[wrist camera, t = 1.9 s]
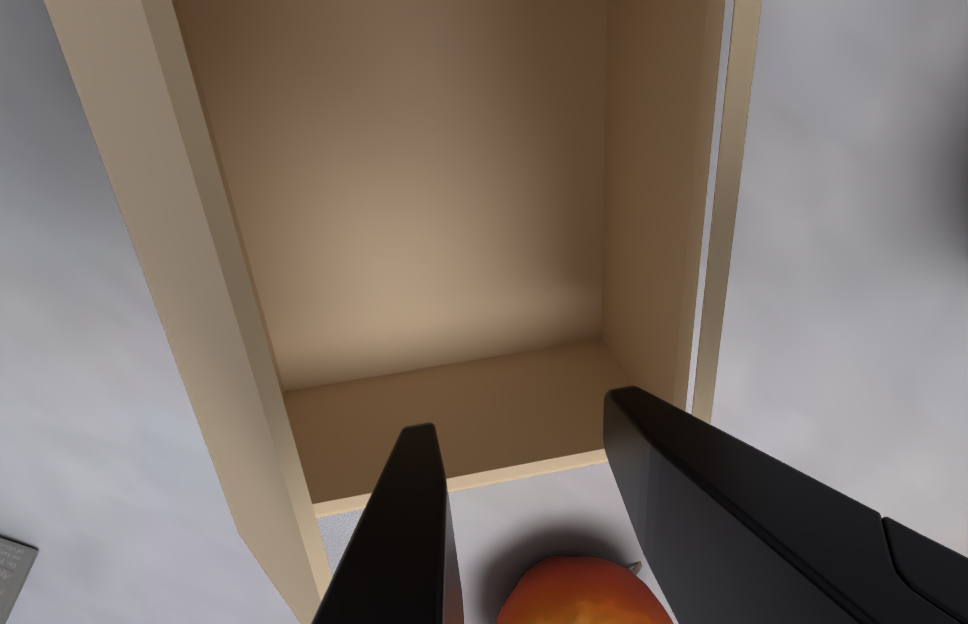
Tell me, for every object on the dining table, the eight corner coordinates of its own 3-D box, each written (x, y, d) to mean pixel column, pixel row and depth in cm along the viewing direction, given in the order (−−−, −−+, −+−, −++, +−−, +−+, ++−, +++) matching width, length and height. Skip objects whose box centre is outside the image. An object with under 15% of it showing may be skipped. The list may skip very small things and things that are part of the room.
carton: (618, -124, 17) (741, -171, 11) (607, 347, 24) (681, 452, 18) (138, -92, 15) (28, -128, 10) (278, 403, 22) (257, 534, 17)
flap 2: (747, -127, 11) (765, -128, 11) (688, 442, 18) (700, 444, 18) (753, -172, 7) (783, -177, 7) (671, 611, 13) (686, 615, 13)
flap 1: (134, -136, 6) (99, -137, 6) (361, 683, 12) (348, 693, 12) (38, -77, 10) (15, -77, 10) (250, 527, 16) (238, 533, 16)
